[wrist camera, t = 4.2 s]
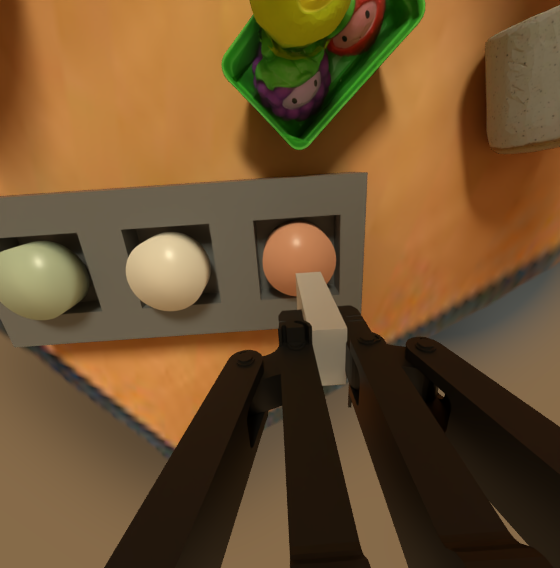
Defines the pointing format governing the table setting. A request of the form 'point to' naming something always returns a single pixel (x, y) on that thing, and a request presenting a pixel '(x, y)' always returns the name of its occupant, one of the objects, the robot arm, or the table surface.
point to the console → (200, 226)
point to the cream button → (168, 271)
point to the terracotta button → (297, 254)
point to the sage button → (41, 280)
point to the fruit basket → (313, 57)
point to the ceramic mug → (524, 85)
